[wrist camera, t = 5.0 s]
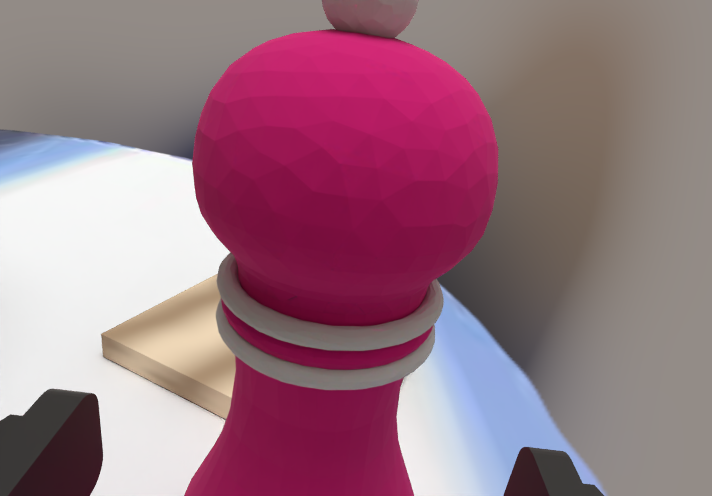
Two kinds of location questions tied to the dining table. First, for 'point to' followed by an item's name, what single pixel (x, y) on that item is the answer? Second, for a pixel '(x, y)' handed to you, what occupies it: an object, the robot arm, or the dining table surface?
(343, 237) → the pepper mill
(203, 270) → the dining table surface
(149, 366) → the birch board
